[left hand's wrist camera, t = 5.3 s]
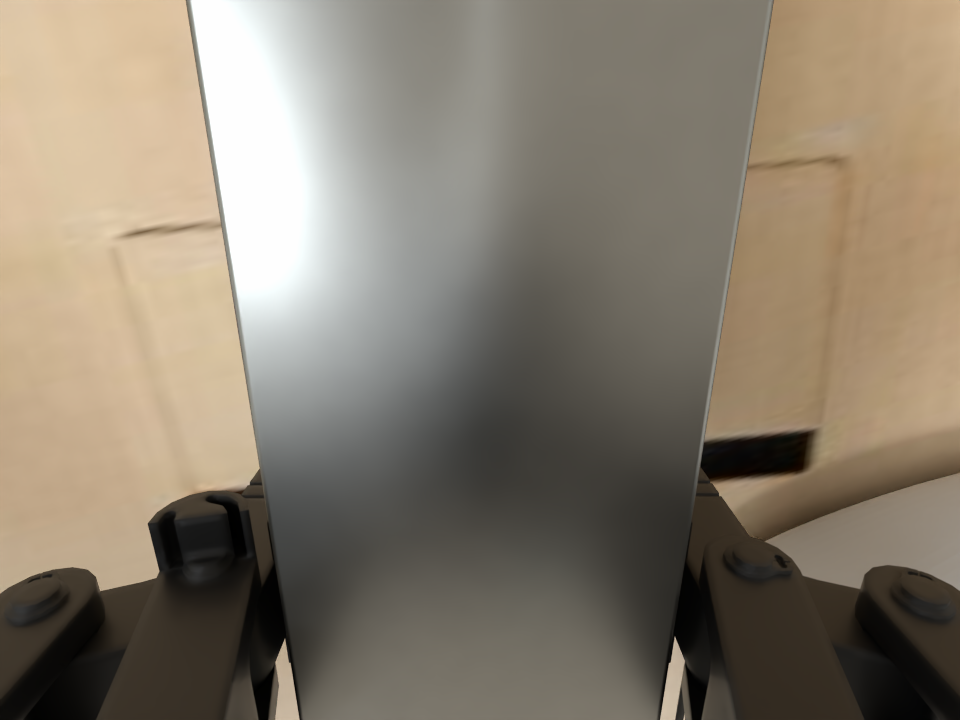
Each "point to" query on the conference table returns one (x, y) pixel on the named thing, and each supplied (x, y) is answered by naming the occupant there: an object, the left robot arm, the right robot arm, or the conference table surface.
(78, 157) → the conference table surface
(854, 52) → the conference table surface
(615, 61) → the bar
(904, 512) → the projector
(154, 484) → the conference table surface
